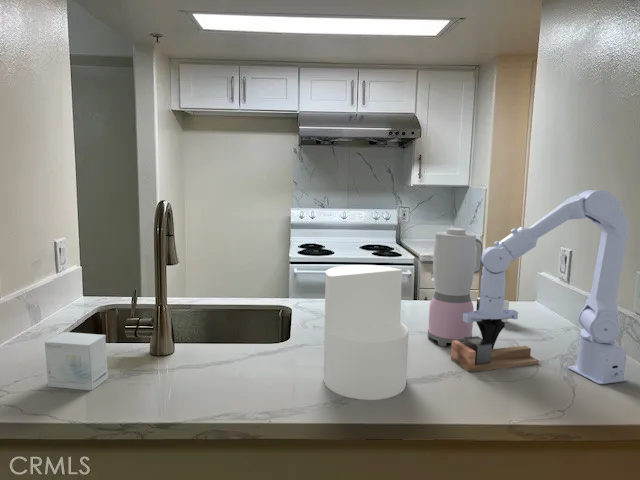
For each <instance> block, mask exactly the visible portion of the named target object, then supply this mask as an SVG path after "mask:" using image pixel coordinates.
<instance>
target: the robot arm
mask: <svg viewBox="0 0 640 480" xmlns="http://www.w3.org/2000/svg"><path fill="white" fill-rule="evenodd" d="M586 218H588V219H589V220H591V221H592V223H594V224H595V226H596V227H598V228H599V230H600V231H601V233H600V238H599V245H598V250H597V257H596V263H595V267H594V272H593V279H592V284H591V290H590V295H589V297H587V299H586V300H585V302H584V303H585V304H584V306H583V308H582V309H581V311H580V312H579V314H578V322H579V324H580V326H581V327H582V330H581V331H580V332H579V342H578V350H577V351H578V352H577V361H576V365H575V364H574V365H569V366H567V369H568V370H570V371H572V372H575V373H576V374H578V375H580V376H582V377H584V378H586V379H589V380H590V381H592V382H594V383H596V384H598V385H606V384H613V383H622V382H625V381H626V382H627V378H626V377H625V372H626V371H625V369H626V361H627V354H626V353H627V352H626V351H625V349H624V348H623V347H622V346H619V344H618V343H617V342H616V340H617V338H618V337H619V336H620V333H621V325H620V322H619V313H620V312H619V309H618V305H617V301H616V300H617V295H618V290H619V285H620V280H621V274H622V269H623V264H624V259H625V253H626V248H627V242H628V236H629V232H630V223H629V221H628V219H627V216H626V214H625V212H624V210H623V208H622V201H621V200H620V199H619V198H617V197H616V196H615V195H614V194H613V193H611V192H610V191H608V190H603V189H601V190H600V189H599V190H597V189H596V190H595V189H593V188H587V189H583V190H581V191H579V192H578V193H577V194H576V195H572V196H570V197H569V198H568V199H566V200H565V201H563V202H562V203H561V204H559V205H558V206H556V207H555V208H554V209H552V210H550V212H548V213H546V214H545V215H544V216H543V217H541V218H540V219H539V220H537V221H536V222H534V223H533V224H532V225H531V226H529V227H523V226H519V228H515V227H513V228H512V229H511V230H510V233H509V234H508V235H507V236H504V237H503V238H502V239H501V240H499V241H498V240H496V241H494V242H493V244H494V246H489V247H486V248H485V249H484V250H482V256H481V264H482V269H481V277H480V289H479V297H480V302H479V309H478V310H477V311H476V310H474V311H473V312H469V313H463V321H464V322H466V323H471V322H473V323H474V322H476V324H477V326H478V328H479V332H480V334H481V335H480V336H481V338H482V339H484V340H485V341H487V342H489V343H491V344H492V349H494V348H495V344H496V342H497V339H498V337H499V335H500V333H501V331H503V329H504V328H505V325H506V322H502V319H508V320H518V318H519V317H518V316H519V312H518V311H517V310H515V309H508V310H504V299H505V296H506V295H505V294H506V293H505V292H506V283H507V279H506V278H507V277H506V271H507V270H508V268H509V267H510V263H511V262H514V261H515V260H517V259H520V258H521V257H522V256H523V255H525V254H527V253H528V252H530V251H531V250H533V249H534V248H536V246H537V243H538V239H539V238H541V237H542V236H544V235H546V234H547V233H549V232H551V231H553V230H554V229H555V228H557V227H559V226H560V225H562V224H563V223H566V222H567V221H569V220H578V219H579V220H580V219H586Z"/></svg>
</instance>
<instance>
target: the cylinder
mask: <svg viewBox="0 0 640 480" xmlns="http://www.w3.org/2000/svg"><path fill="white" fill-rule="evenodd" d="M324 279H325V280H324V281H325V282H324V283H325V286H324V287H325V289H324V331H323V332H324V335H323V337H324V339H323V342H324V343H323V347H324V348H323V382H324V384H325V386H326V387H327V388H328V389H329V390H330V391H332V392H333V393H335V394H338V395H339V396H343V397H345V398H350V399H355V400H356V399H357V400H368V401H376V400H385V399H388V398H389V399H390V398H392V397H395V396H398V395H400V394H401V393H402V392H403V391H404V390H405V389H406V387H407V377H408V376H407V373H408V372H407V371H408V370H407V369H408V354H409V352H408V349H409V329H408V326H406V325H405V323H402V322H401V311H402V310H401V309H402V307H401V306H402V287H403V285H402V282H403V269H401V268H396V267H392V266H387V265H385V266H384V265H375V264H349V265H340V266H339V265H338V266H334V267H331V268H328V269H326V270H325V278H324Z"/></svg>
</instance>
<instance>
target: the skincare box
mask: <svg viewBox="0 0 640 480" xmlns="http://www.w3.org/2000/svg"><path fill="white" fill-rule="evenodd" d="M106 336H107V335H106V334H96V333H83V332H70V331H68V332H67V331H63V332H60V333H58V334H57V335H55V336H53V337H50V338H49V339H47V340H46V341H44V351H45V361H46V377H47V387H50V388H61V389H70V390H80V391H81V390H82V391H93V390H94V389H96V388H97V387H98V386H100V385H101V384H103V382H105V381H107V380H108V379H109V375H108V361H107V339H106V338H107V337H106Z"/></svg>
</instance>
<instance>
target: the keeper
mask: <svg viewBox="0 0 640 480" xmlns="http://www.w3.org/2000/svg"><path fill="white" fill-rule="evenodd" d="M463 344H464V345H466V346H467V347H469V348H471V349H472V350H474V351H475V352H476V354H475V363H476V364H482V363H491V350H492V344H491V343H489V342H487V341H485V340H484V339H482V337H480V336H478V335H477V336H472V337H464V343H463Z"/></svg>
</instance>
